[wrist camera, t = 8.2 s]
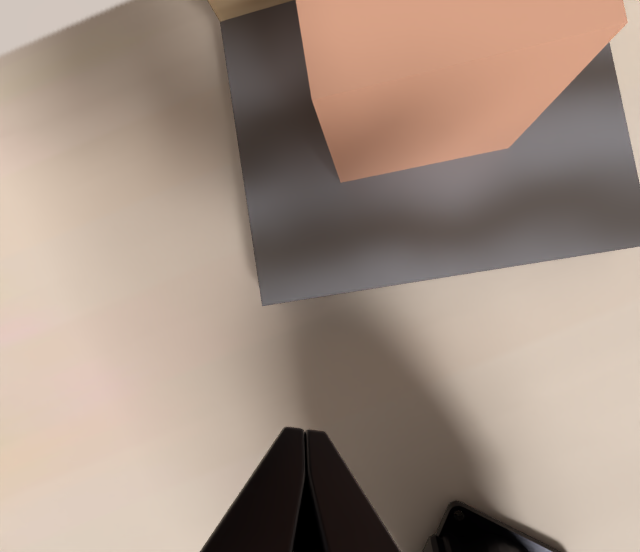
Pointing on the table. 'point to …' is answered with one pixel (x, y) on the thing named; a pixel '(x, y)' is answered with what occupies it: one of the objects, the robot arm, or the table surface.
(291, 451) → the robot arm
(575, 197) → the stop jig
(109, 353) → the table surface
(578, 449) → the table surface
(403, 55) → the terracotta block
